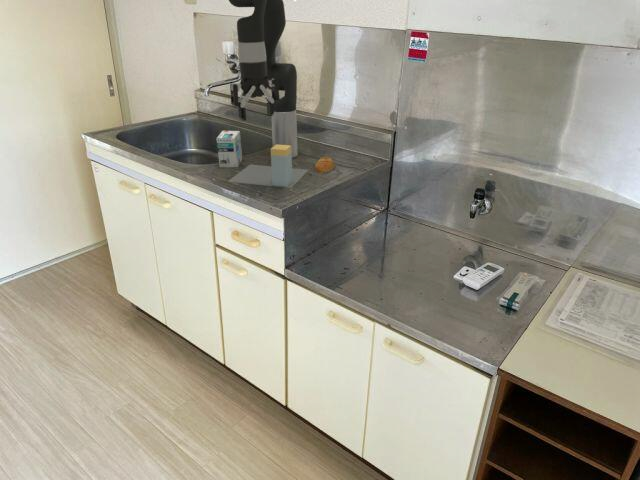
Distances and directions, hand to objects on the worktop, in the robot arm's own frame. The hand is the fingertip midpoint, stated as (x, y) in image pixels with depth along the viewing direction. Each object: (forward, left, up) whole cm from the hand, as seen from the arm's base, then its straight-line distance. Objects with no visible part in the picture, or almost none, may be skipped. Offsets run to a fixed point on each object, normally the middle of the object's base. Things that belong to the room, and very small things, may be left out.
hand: (256, 118), depth 140 cm
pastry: (-25, +14, -23) cm, 37 cm away
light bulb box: (-23, -22, -23) cm, 39 cm away
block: (-7, +4, -22) cm, 24 cm away
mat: (-13, -3, -23) cm, 26 cm away
